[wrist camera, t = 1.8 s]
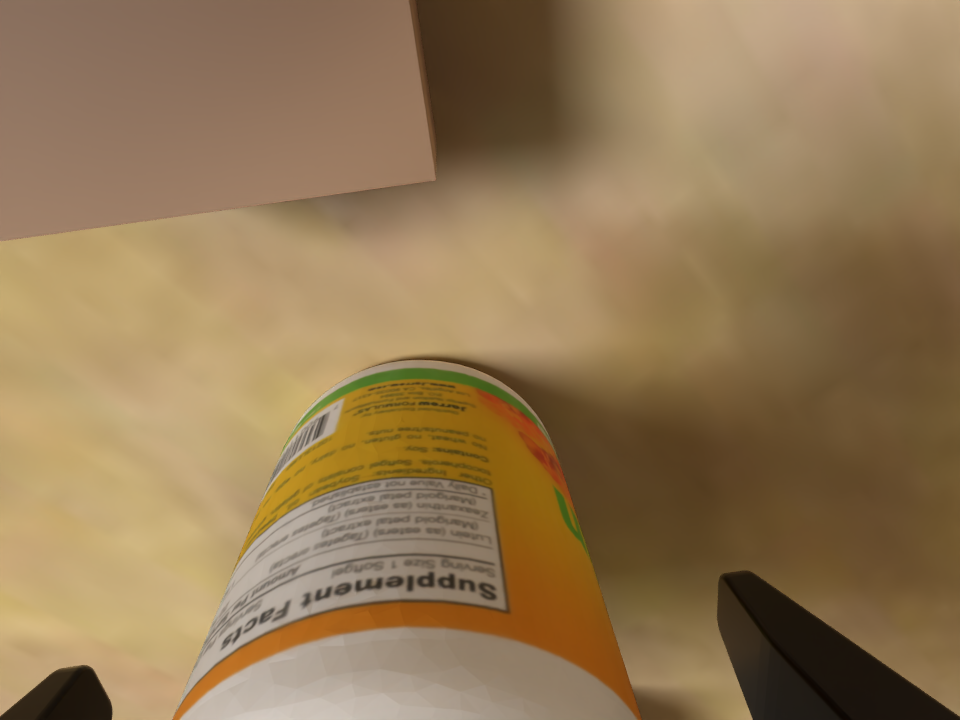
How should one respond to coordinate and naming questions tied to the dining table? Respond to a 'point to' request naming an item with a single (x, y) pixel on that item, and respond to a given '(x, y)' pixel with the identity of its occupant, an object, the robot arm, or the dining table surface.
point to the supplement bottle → (413, 568)
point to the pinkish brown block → (204, 107)
